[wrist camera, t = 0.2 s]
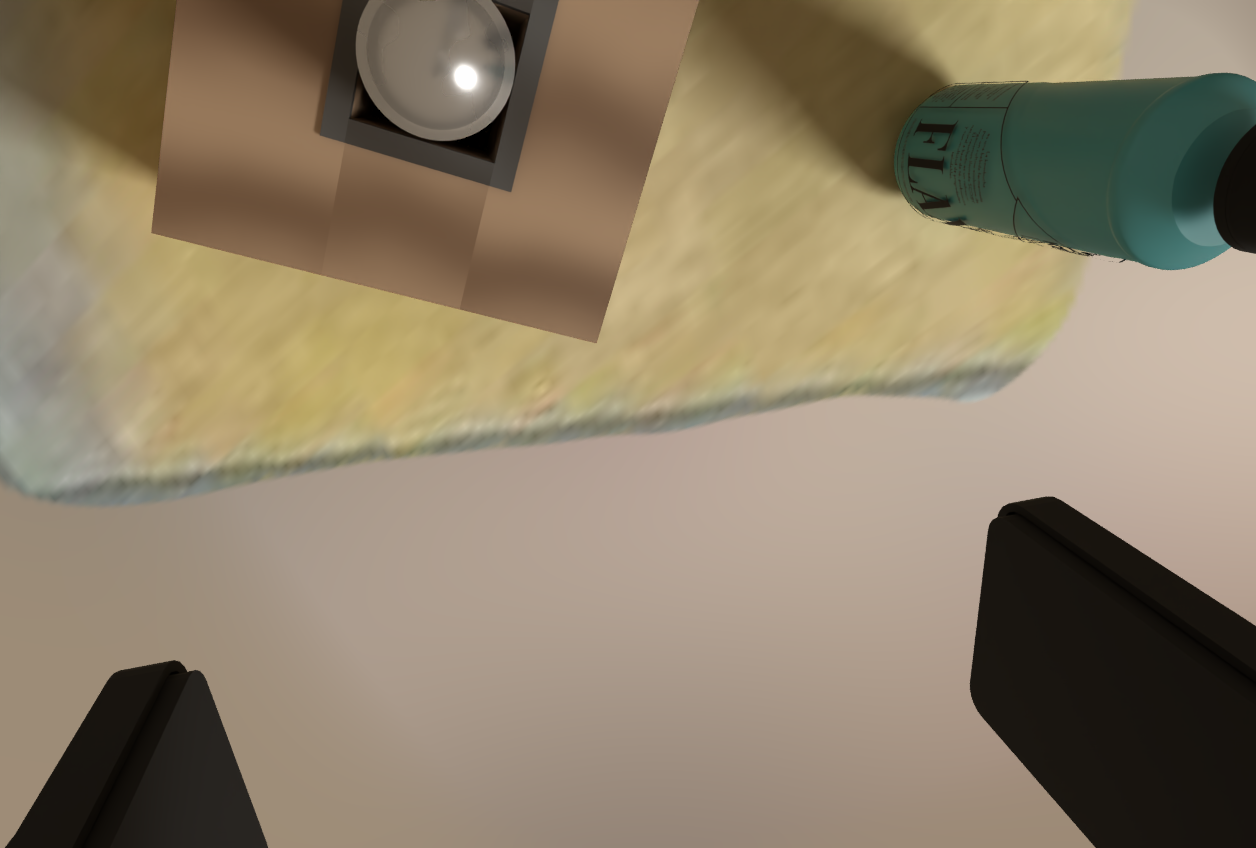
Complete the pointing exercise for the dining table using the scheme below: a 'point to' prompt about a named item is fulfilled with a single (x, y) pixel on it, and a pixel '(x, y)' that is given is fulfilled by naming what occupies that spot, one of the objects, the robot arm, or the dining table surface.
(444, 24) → the steel dowel
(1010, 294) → the dining table surface
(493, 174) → the block
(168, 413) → the dining table surface
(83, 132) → the dining table surface
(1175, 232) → the beverage bottle
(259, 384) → the dining table surface
